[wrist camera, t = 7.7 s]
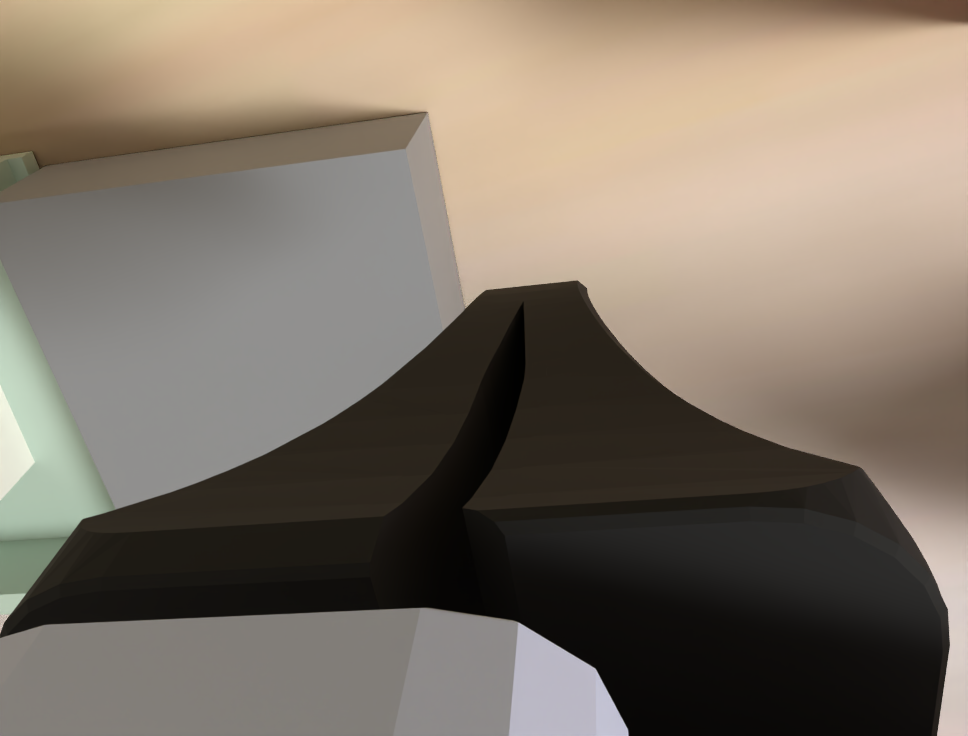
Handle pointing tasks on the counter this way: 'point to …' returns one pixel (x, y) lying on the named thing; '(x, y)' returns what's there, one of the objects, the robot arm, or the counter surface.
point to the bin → (38, 444)
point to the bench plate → (230, 289)
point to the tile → (11, 449)
